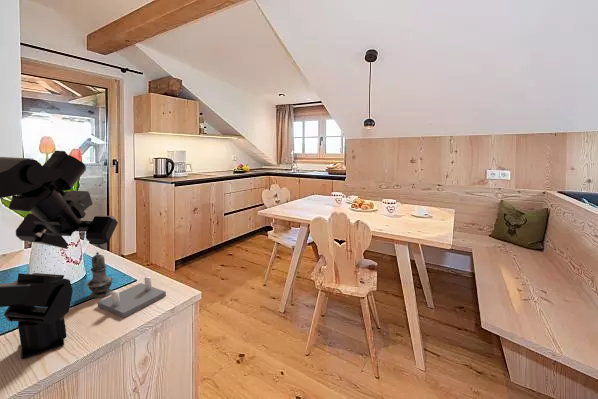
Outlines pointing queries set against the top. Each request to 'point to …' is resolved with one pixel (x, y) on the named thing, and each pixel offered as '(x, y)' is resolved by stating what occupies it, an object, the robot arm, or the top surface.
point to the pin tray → (131, 298)
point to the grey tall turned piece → (99, 278)
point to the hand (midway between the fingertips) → (86, 247)
